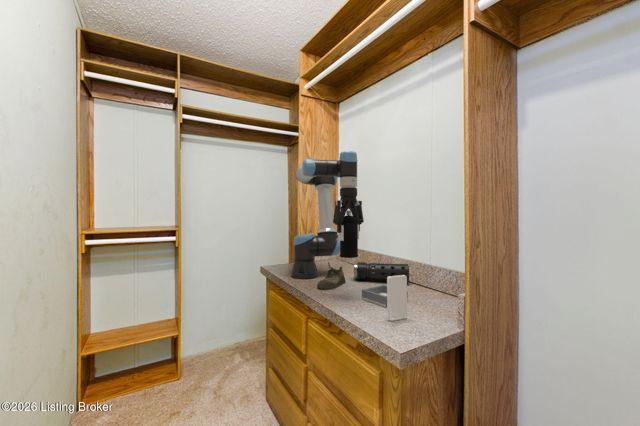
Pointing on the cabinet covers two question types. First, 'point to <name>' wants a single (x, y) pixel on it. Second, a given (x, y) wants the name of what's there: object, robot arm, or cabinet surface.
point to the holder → (376, 295)
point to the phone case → (397, 297)
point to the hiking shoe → (332, 279)
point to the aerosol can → (349, 237)
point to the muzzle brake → (379, 271)
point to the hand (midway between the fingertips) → (348, 239)
